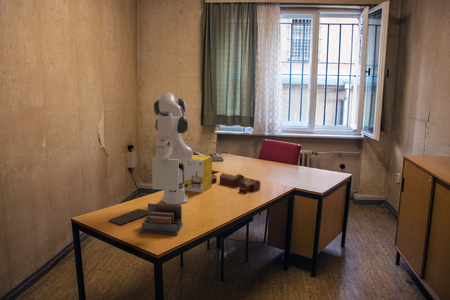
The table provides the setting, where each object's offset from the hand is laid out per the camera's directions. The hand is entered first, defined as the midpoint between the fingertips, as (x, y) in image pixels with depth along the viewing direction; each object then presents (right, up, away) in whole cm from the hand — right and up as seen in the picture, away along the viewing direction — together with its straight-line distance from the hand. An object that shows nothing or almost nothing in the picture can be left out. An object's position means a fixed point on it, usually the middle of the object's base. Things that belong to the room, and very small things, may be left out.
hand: (165, 164), depth 208 cm
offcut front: (-3, -36, -2) cm, 36 cm away
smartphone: (-25, -34, +18) cm, 46 cm away
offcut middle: (-2, -36, +2) cm, 36 cm away
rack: (-2, -37, +2) cm, 37 cm away
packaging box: (+13, -22, +81) cm, 85 cm away
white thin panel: (0, -14, +3) cm, 15 cm away
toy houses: (+39, -21, +91) cm, 102 cm away
